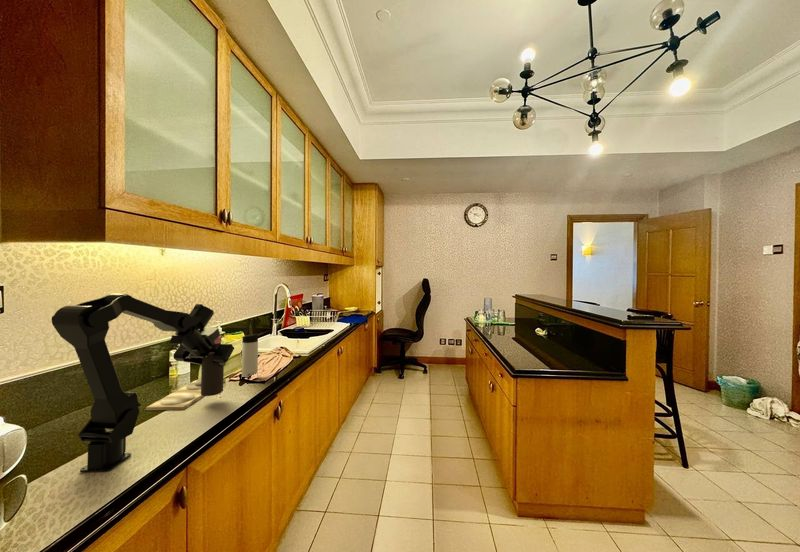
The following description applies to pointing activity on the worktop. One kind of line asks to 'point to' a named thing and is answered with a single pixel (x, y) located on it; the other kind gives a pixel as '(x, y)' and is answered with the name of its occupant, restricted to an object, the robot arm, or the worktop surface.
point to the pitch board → (179, 398)
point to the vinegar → (211, 374)
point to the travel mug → (249, 355)
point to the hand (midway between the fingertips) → (215, 364)
